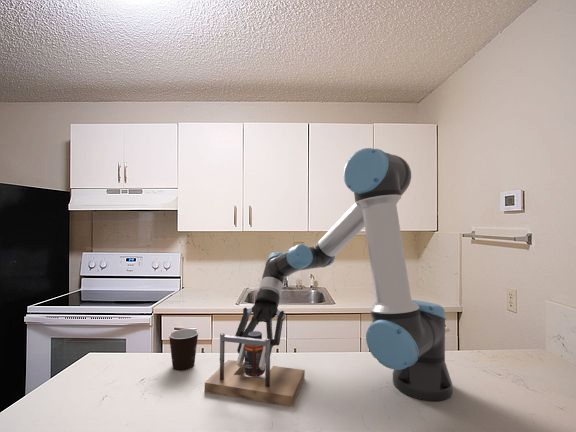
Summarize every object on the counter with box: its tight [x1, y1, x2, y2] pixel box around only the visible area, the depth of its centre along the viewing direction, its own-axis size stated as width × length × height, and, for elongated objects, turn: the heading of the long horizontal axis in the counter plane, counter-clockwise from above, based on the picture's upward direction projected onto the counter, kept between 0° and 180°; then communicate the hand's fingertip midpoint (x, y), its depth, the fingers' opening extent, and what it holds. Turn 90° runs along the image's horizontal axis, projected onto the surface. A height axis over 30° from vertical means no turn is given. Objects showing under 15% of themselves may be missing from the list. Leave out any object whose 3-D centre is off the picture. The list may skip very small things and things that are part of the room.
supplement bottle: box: [244, 330, 265, 378], centre depth 90 cm, size 6×6×11 cm
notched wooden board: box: [204, 359, 305, 408], centre depth 86 cm, size 24×14×2 cm, turn 75°
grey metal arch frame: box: [219, 333, 271, 387], centre depth 83 cm, size 14×1×12 cm, turn 75°
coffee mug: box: [168, 328, 199, 372], centre depth 98 cm, size 12×9×10 cm
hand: (250, 366), depth 86 cm, fingers closed on supplement bottle, 6 cm apart
